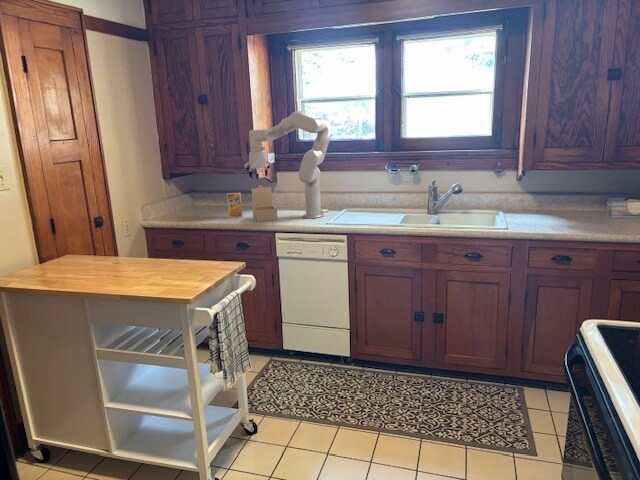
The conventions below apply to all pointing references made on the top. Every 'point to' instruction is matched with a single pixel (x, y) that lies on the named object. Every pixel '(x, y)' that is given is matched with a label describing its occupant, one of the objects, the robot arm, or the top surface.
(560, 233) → the top surface
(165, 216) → the top surface
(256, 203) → the taped cardboard box
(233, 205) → the candy box
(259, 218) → the carton
